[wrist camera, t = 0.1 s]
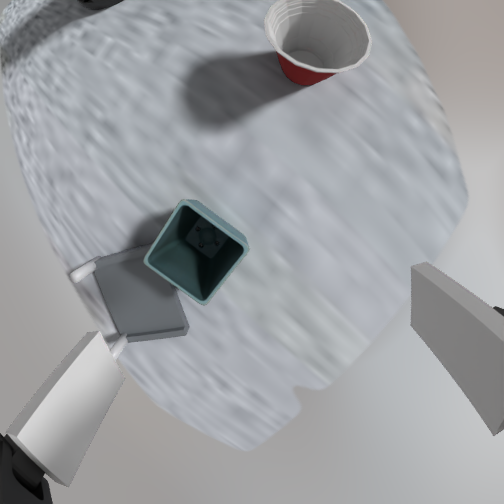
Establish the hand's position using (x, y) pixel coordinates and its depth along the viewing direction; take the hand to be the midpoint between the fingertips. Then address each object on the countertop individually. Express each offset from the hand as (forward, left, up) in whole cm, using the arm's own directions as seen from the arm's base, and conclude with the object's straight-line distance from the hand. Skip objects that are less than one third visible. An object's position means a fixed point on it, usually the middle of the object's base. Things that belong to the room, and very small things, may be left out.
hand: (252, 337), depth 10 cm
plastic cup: (-19, +11, -28) cm, 36 cm away
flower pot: (+1, -7, -28) cm, 29 cm away
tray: (+7, -20, -28) cm, 35 cm away
